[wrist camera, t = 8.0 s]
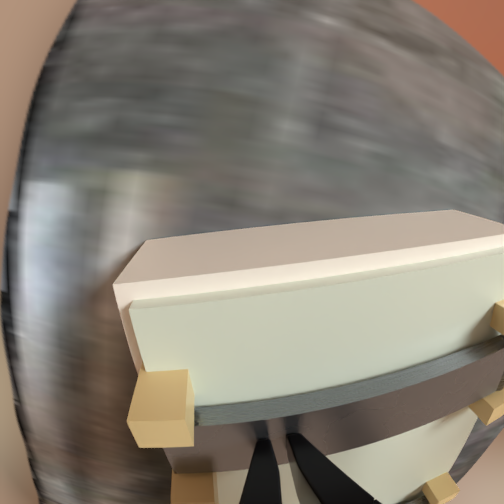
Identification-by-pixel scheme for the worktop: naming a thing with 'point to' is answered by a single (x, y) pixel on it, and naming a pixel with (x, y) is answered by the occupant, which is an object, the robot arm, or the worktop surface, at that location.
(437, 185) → the worktop surface
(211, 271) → the storage box
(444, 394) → the strap
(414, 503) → the strap
